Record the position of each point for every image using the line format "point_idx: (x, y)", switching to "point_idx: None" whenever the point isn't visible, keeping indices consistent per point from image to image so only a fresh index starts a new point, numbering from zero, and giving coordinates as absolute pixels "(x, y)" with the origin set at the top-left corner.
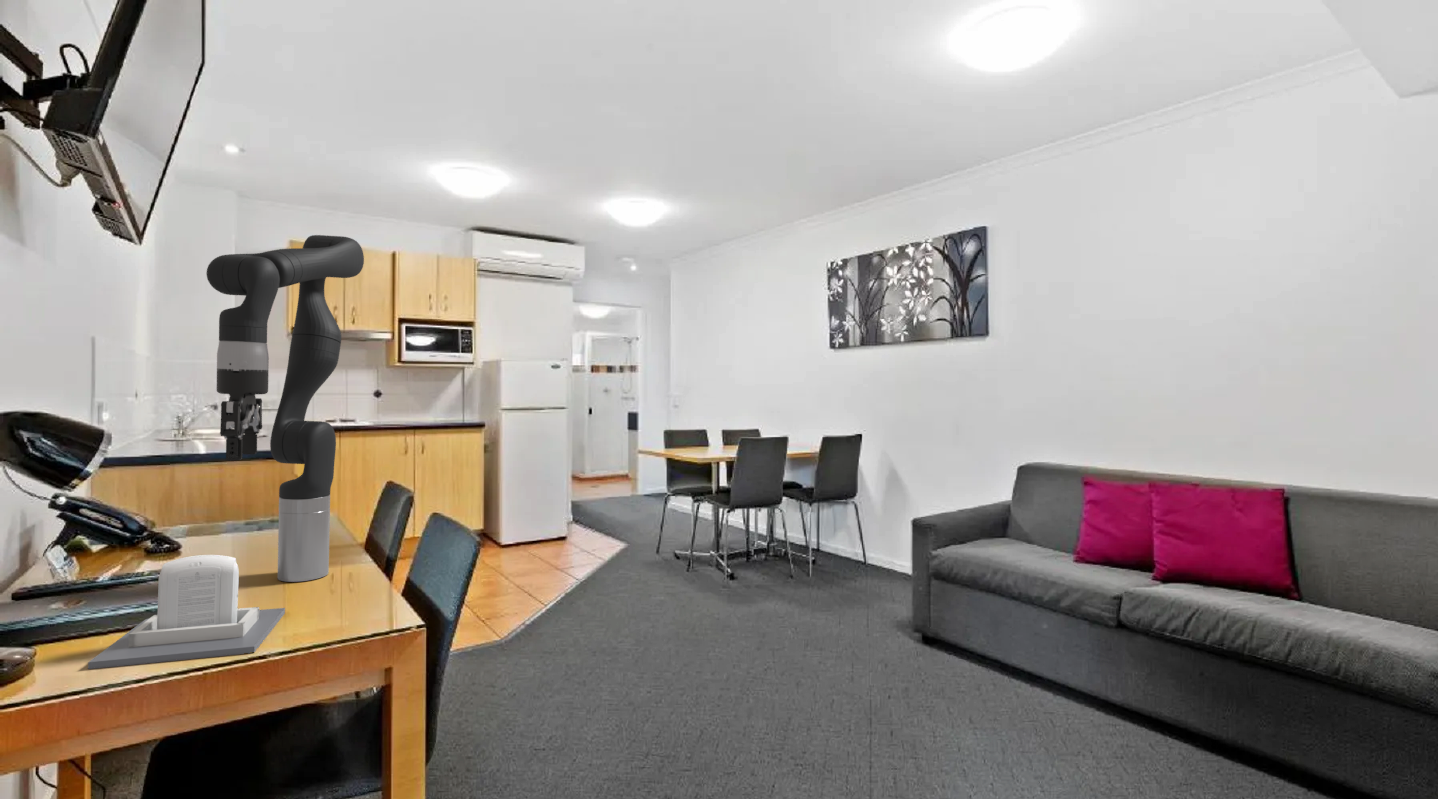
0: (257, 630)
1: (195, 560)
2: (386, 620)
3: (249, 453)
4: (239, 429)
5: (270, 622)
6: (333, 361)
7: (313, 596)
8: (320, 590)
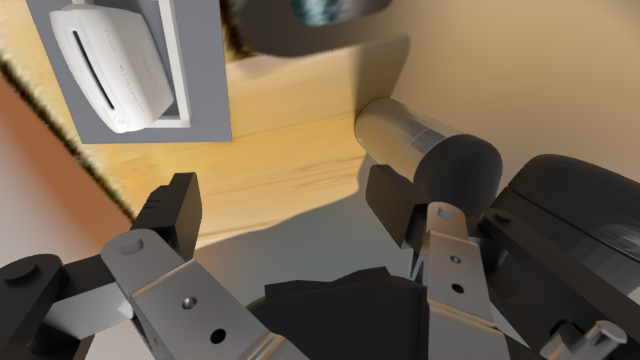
0: (143, 132)
1: (77, 75)
2: None
3: (368, 184)
4: (82, 354)
5: (174, 139)
6: None
7: (291, 153)
8: (313, 155)
